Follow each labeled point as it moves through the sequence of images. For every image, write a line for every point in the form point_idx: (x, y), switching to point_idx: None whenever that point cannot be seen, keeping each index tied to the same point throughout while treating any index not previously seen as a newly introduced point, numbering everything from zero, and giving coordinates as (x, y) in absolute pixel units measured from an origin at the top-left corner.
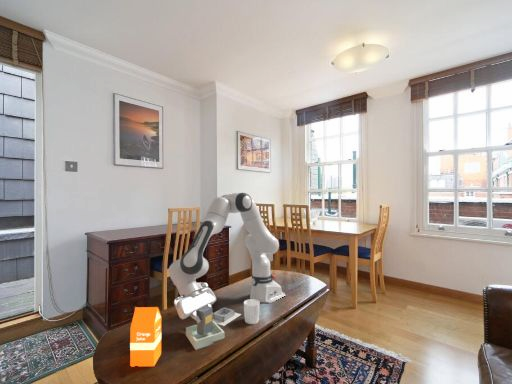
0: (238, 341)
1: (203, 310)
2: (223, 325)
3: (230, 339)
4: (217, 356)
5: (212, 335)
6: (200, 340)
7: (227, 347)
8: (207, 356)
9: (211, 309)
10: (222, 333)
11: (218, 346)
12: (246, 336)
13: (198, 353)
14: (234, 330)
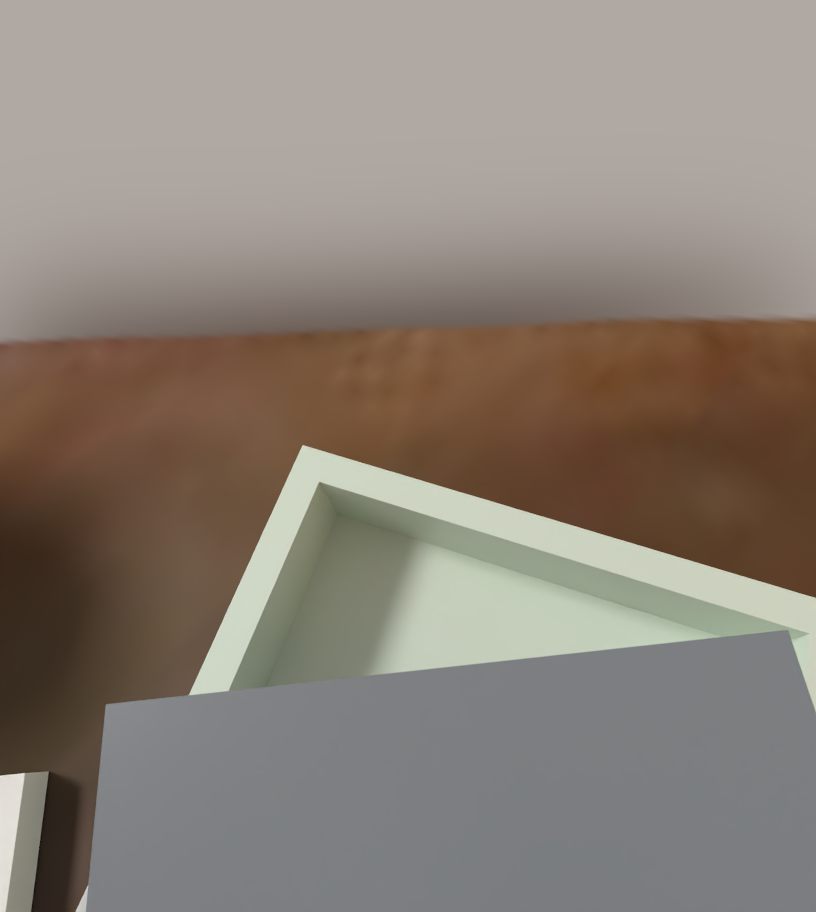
0: (250, 352)
1: (672, 858)
2: (15, 794)
3: (269, 451)
4: (625, 322)
5: (509, 518)
6: (744, 583)
7: (425, 360)
8: (719, 400)
9: (210, 699)
10: (342, 459)
11: (485, 452)
12: (109, 355)
13: (783, 533)
14: (45, 571)
